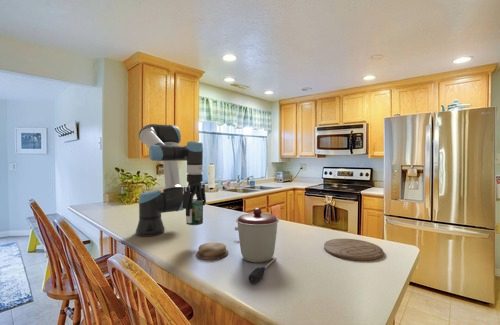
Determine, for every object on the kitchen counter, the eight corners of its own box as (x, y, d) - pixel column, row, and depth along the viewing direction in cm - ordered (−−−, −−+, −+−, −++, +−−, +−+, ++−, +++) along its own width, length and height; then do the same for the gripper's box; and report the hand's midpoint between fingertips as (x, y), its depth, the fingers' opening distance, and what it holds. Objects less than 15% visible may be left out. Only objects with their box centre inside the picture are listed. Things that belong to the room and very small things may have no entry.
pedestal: (189, 256, 114) (189, 249, 114) (208, 246, 126) (208, 240, 126) (217, 262, 108) (217, 254, 107) (234, 251, 120) (234, 244, 120)
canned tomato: (205, 221, 131) (206, 199, 131) (197, 226, 124) (197, 202, 123) (191, 220, 134) (191, 198, 133) (183, 224, 126) (183, 201, 126)
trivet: (313, 246, 127) (313, 242, 127) (353, 239, 137) (353, 236, 137) (350, 266, 104) (350, 261, 104) (396, 256, 114) (396, 252, 113)
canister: (281, 252, 119) (281, 205, 118) (276, 268, 101) (276, 213, 100) (241, 249, 122) (241, 203, 122) (230, 265, 105) (230, 211, 104)
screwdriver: (272, 258, 112) (272, 249, 112) (280, 259, 111) (280, 250, 111) (246, 285, 88) (246, 274, 88) (256, 287, 87) (256, 276, 87)
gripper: (186, 175, 117) (186, 226, 118) (213, 172, 135) (213, 216, 136) (173, 174, 120) (173, 224, 121) (201, 171, 139) (201, 215, 140)
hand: (194, 220), depth 129 cm, fingers closed on canned tomato, 8 cm apart
